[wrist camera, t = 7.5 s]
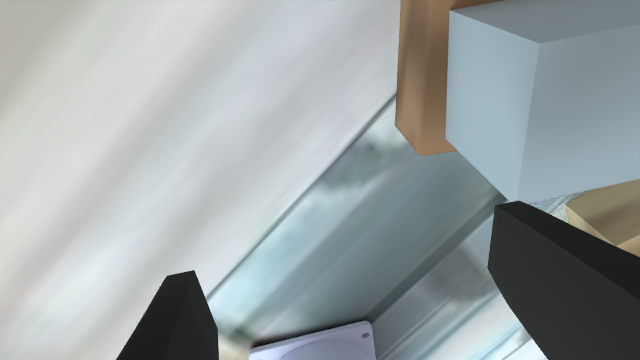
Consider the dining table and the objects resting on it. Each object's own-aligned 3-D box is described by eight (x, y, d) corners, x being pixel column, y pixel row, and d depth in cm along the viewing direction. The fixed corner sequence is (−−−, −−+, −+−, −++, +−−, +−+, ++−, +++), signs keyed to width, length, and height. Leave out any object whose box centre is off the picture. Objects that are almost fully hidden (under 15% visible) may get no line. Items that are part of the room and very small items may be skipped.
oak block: (632, 216, 26) (690, 258, 23) (573, 245, 27) (622, 290, 23) (627, 170, 24) (690, 209, 21) (563, 203, 25) (615, 246, 21)
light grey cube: (558, 114, 17) (662, 173, 13) (445, 138, 17) (515, 206, 13) (582, -15, 15) (721, 8, 11) (449, 10, 14) (539, 43, 10)
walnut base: (525, 106, 21) (572, 135, 18) (392, 122, 20) (419, 156, 17) (559, -51, 17) (625, -46, 14) (400, -39, 17) (435, -32, 14)
